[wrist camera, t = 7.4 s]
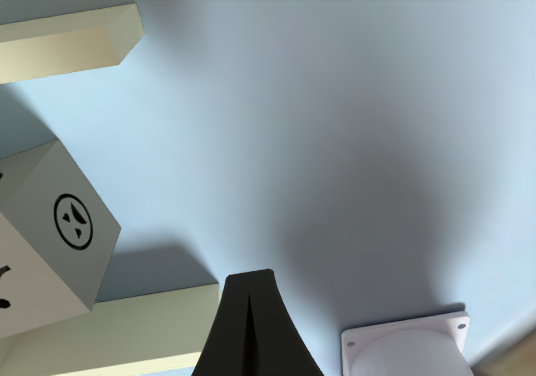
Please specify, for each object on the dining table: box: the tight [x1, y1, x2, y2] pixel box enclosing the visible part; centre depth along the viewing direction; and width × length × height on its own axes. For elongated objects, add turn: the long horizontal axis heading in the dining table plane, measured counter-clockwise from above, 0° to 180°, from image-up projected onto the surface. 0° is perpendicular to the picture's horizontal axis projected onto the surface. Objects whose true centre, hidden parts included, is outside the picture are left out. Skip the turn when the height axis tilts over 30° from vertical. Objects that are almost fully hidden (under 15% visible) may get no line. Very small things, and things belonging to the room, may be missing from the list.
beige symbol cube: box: [0, 139, 121, 339], centre depth 15 cm, size 5×5×5 cm
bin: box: [0, 3, 222, 376], centre depth 16 cm, size 15×12×4 cm
